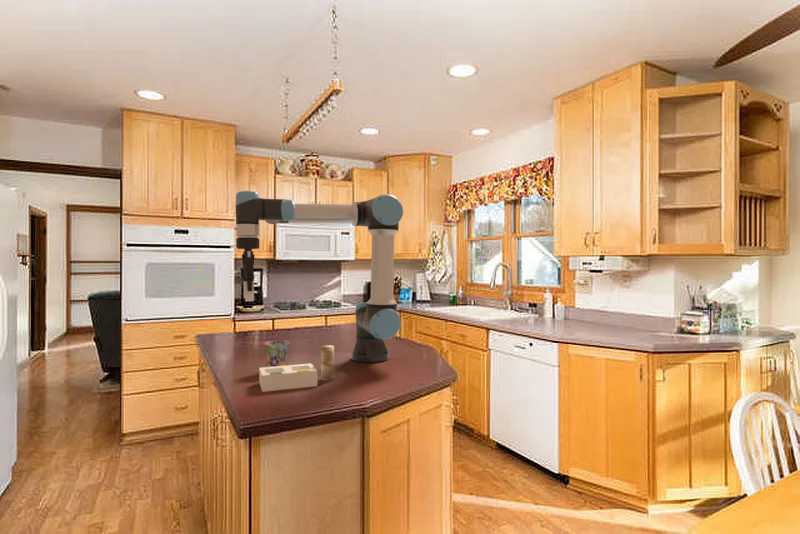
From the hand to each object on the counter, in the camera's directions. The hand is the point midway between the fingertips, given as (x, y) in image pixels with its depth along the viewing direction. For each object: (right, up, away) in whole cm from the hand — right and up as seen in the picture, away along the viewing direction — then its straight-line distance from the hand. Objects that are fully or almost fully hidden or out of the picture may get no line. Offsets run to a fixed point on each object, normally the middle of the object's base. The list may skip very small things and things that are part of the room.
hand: (248, 299), depth 156 cm
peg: (+27, -27, -1) cm, 38 cm away
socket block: (+15, -27, -8) cm, 32 cm away
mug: (+7, -27, +10) cm, 30 cm away
